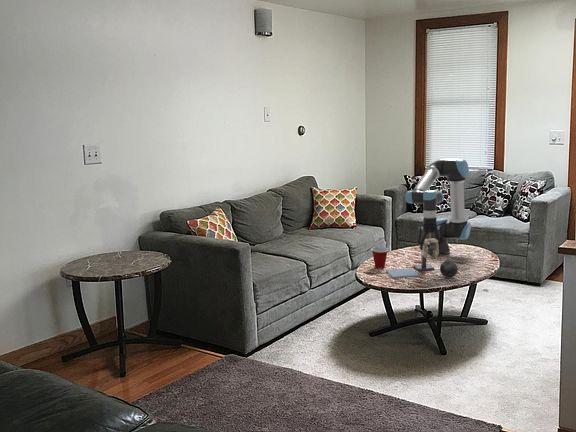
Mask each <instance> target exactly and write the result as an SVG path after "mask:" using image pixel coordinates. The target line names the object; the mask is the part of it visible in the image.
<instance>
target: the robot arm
mask: <svg viewBox="0 0 576 432" xmlns="http://www.w3.org/2000/svg"><path fill="white" fill-rule="evenodd" d="M469 171H470V170H469V164H468V162H467V160H466V159H465V158H464V159H463V158H462V159H461V158H439V159H437V160H435V161H433V162H431V163H430V164H429V165H428V166H427V167H426V168H425V170H424V174H423V175H422V177H421V178H420V180H419V181H418V183H417V184H416V185H415V187H414V188H413V190H408V191H406V193H405V196H404V197H405V202H406V203H408V204H417V205H418V204H422V205H423V210H422V213H423V215H422V216H423V224H422V226H418V228H417V229H418V230H417V231H418V233H417V239H416V243H417V244H418V245H419V249H420V251H421V250H422V255H423V256H424V244H423V243H424V240H425V239H427V235H428V234H429V239H430V238H435V239H437V240H438V256H445V255H450V253H451V248H450V246H449V243H448V239H450V240H451V239H452V240H467V239H468V238H469V236H470V233H471V228H472V225H471V222H469V221H468V217H466V214H465V213H466V212H465V211H466V210H465V191H464V189H465V188H464V187H465V186H464V182H465V181H466V179H467V178H468V176H469V174H470V173H469ZM442 177H443V178H446V180H447V182H449V192H450V194H449V195H450V213H451V216H450V218H449V219H448V218H445V217H444V218H443V217H441V218H437V206H438V205H440V204H441V203H442V202H443V201H444V198H445V195H444V194H443V192H442V191H439V190H432V189H431V190H429V189H430V188H431V186H432V185H433V184H434V182H435V181H436V180H437V179H439V178H442ZM423 230H424V231H423ZM422 232H423V234H422ZM430 244H431V245H433V243H430ZM428 254H429V255H432V256H433V250H431V249H430V248H428V247H427V255H428Z"/></svg>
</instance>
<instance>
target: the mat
mask: <svg viewBox="0 0 576 432" xmlns="http://www.w3.org/2000/svg"><path fill="white" fill-rule="evenodd" d="M385 272H386V273H387V275H389V276H390V277H391V279H405V278H407V279H408V278H418V277H419V278H420V274H419V273H418V272H416V271H415V270H414V269H413V268H412V267H410V268H394V269H393V268H392V269H385Z"/></svg>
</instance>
